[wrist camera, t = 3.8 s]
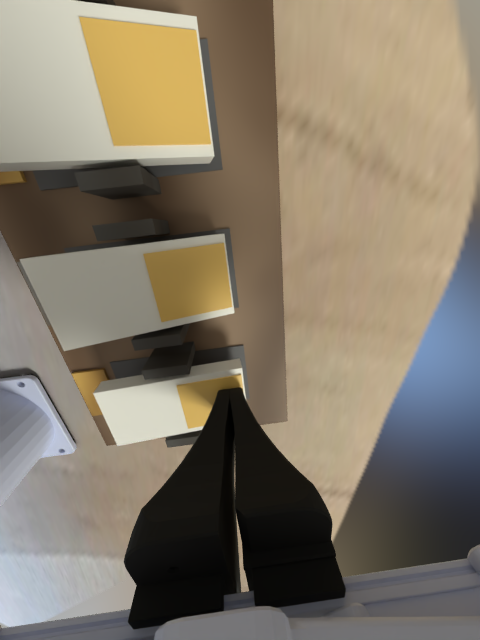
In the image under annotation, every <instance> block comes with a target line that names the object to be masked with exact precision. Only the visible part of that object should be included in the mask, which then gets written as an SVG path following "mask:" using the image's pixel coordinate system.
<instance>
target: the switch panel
mask: <svg viewBox="0 0 480 640" xmlns="http://www.w3.org/2000/svg"><path fill="white" fill-rule="evenodd" d="M76 1H83V2H91V3H98V4H106V5H114V6H121V7H129V8H136V9H144V10H151V11H159V12H166V13H174V14H182V15H189V16H197V24H198V32H199V40H200V47H201V55H202V63H203V71H204V79H205V86H206V94H207V102H208V110H209V118H210V126H211V133H212V141H213V149H214V158H213V159H212V161H211V162H210V163H208V164H182V165H157V166H140V165H136V166H128V167H107V168H82V169H57V170H32V171H7V172H0V231H1V233H2V235H3V237H4V239H5V241H6V243H7V245H8V247H9V249H10V251H11V253H12V255H13V257H14V259H15V261H16V263H17V265H18V267H19V269H20V271H21V273H22V275H23V277H24V279H25V281H26V283H27V285H28V287H29V289H30V291H31V293H32V295H33V298H34V300H35V302H36V304H37V306H38V308H39V310H40V312H41V314H42V316H43V318H44V320H45V322H46V324H47V326H48V328H49V330H50V332H51V334H52V336H53V338H54V340H55V342H56V344H57V346H58V348H59V350H60V352H61V354H62V356H63V358H64V360H65V362H66V364H67V366H68V368H69V370H70V372H71V374H72V376H73V378H74V381H75V383H76V385H77V387H78V389H79V391H80V393H81V395H82V397H83V399H84V401H85V403H86V405H87V407H88V409H89V411H90V413H91V415H92V417H93V419H94V421H95V423H96V425H97V427H98V429H99V431H100V433H101V435H102V437H103V439H104V441H105V443H106V445H107V446H108V445H115V444H116V442H115V439H114V437H113V435H112V433H111V431H110V429H109V427H108V424H107V422H106V420H105V418H104V416H103V414H102V412H101V409H100V407H99V405H98V403H97V401H96V399H95V397H94V394H93V393H94V391H95V390H96V389H97V387H98V386H99V384H100V383H101V382H102V381H108V380H114V379H120V378H126V377H131V376H137V375H143V377H144V380H148V379H156V378H164V377H171V376H179V375H187V374H190V370H191V366H197V365H203V364H209V363H215V362H221V361H227V360H233V359H239V358H240V361H241V366H242V371H243V379H244V387H245V395H246V401H247V403H248V405H249V407H250V409H251V411H252V413H253V415H254V417H255V418H256V420H257V422H258V423H259V425H264V424H271V423H279V422H286V421H288V419H287V390H286V362H285V333H284V305H283V276H282V247H281V219H280V190H279V162H278V133H277V104H276V76H275V47H274V19H273V0H76ZM214 234H224V235H225V243H226V250H227V258H228V266H229V274H230V282H231V289H232V297H233V305H234V313H233V314H228V315H224V316H219V317H215V318H210V319H206V320H201V321H197V322H193V323H188V324H184V325H179V326H175V327H170V328H166V329H161V330H157V331H152V332H148V333H143V334H139V335H134V336H130V337H125V338H121V339H117V340H112V341H108V342H103V343H99V344H94V345H90V346H85V347H81V348H76V349H72V350H67V351H64V350H63V348H62V346H61V344H60V342H59V340H58V338H57V336H56V334H55V332H54V330H53V328H52V326H51V324H50V321H49V319H48V317H47V315H46V313H45V311H44V309H43V307H42V305H41V303H40V301H39V299H38V297H37V295H36V293H35V291H34V289H33V286H32V284H31V282H30V280H29V278H28V276H27V274H26V272H25V270H24V268H23V266H22V264H21V262H20V260H19V259H24V258H30V257H38V256H46V255H54V254H62V253H70V252H78V251H86V250H94V249H102V248H110V247H118V246H126V245H134V244H142V243H150V242H158V241H166V240H174V239H182V238H190V237H198V236H206V235H214ZM200 432H201V430H199V431H193V432H188V433H183V434H178V435H173V436H167V437H162V438H166V440H165V441H166V444H167V447H176V446H183V445H190V444H194V443H195V441H196V440H197V438H198V436H199V434H200ZM157 439H160V438H157ZM152 440H153V439H152Z"/></svg>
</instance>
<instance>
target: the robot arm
mask: <svg viewBox="0 0 480 640" xmlns="http://www.w3.org/2000/svg"><path fill="white" fill-rule="evenodd" d="M76 448H77V447H76V444H75V443H74V441H73V439H72V437H71V436H70V434H69V432H68V430H67V429H66V427H65V425H64V423H63V422H62V420H61V418H60V416H59V415H58V413H57V411H56V409H55V408H54V406H53V404H52V402H51V401H50V399H49V397H48V395H47V394H46V392H45V390H44V388H43V387H42V385H41V383H40V381H39V380H38V378H37V377H35V376H33V375H25V376H17V377H10V378H2V379H0V507H1V506H2V504H3V503H4V502H5V501H6V499H7V498H8V497H9V496H10V494H11V493H12V492H13V491H14V489H15V488H16V487H17V486H18V484H19V483H20V482H21V481H22V480H23V478H24V477H25V476H26V475H27V473H28V472H29V471H30V470H31V468H32V467H33V466H34V465H35V463H36V462H37V461H38V460H39V458H42V457H50V456H57V455H65V454H71V453H73V452H74V451H75V450H76ZM234 465H235V475H236V482H235V487H234ZM236 514H237V519H238V524H239V529H240V534H241V539H242V549H243V566H244V570H245V573H246V578H247V582H248V587H249V591H248V592H241V582H240V568H239V553H238V538H237V522H236ZM331 533H332V519H331V516H330V514H329V511H328V509H327V507H326V505H325V503H324V501H323V499H322V498H321V496H320V494H319V493H318V491H317V489H316V488H315V486H314V485H313V484H312V483H311V482H310V481H309V480H308V479H307V478H306V477H304V476H303V475H302V474H301V473H300V472H299V471H298V470H297V469H296V468H295V467H294V466H293V465H292V464H291V463H290V462H289V461H288V460H287V459H286V458H285V457H284V455H283V454H282V453H281V452H280V451H279V450H278V449H277V448H276V446H275V445H274V444H273V443H272V441H271V440H270V439H269V438H268V436H267V435H266V434H265V432H264V431H263V429H262V428H261V426H260V425H259V423H258V422H257V420H256V418H255V417H254V415H253V413H252V411H251V409H250V407H249V405H248V403H247V401H246V399H245V396H244V393H243V389H242V388H241V387H238V388H231V389H223V390H219V391H218V392H217V396H216V399H215V402H214V404H213V407H212V410H211V412H210V414H209V416H208V419H207V421H206V423H205V425H204V427H203V429H202V430H201V432H200V434H199V436H198V438H197V440H196V441H195V443H194V445H193V446H192V448H191V449H190V451H189V452H188V454H187V455H186V457H185V458H184V460H183V461H182V462H181V464H180V465H179V467H178V468H177V469H176V470H175V472H174V473H173V474H172V475H171V477H170V478H169V479H168V480H167V482H166V483H165V484H164V485H163V486H162V488H161V489H160V490H159V491H158V492H157V493H156V494H155V495H154V496H153V497H152V499H151V500H150V501H149V502H148V503H147V504H146V505H145V506H144V507H143V508H142V509H141V512H140V514H139V516H138V519H137V521H136V524H135V526H134V529H133V531H132V534H131V538H130V541H129V544H128V548H127V551H126V554H125V558H124V564H125V567H126V569H127V571H128V572H129V574H130V576H131V577H132V579H133V580H134V582H135V583H136V585H137V587H136V590H135V594H134V598H133V602H132V606H131V609H128V610H121V611H115V612H109V613H101V614H95V615H88V616H82V617H76V618H68V619H61V620H55V621H48V622H41V623H35V624H28V625H21V626H15V627H8V628H1V626H0V640H480V545H478V546H476V547H474V548H472V549H471V550H470V552H469V554H468V559H462V560H455V561H448V562H441V563H435V564H428V565H422V566H415V567H408V568H401V569H395V570H388V571H381V572H375V573H368V574H362V575H355V576H348V577H342V576H341V573H340V570H339V567H338V564H337V561H336V558H335V557H336V553H335V550H334V547H333V544H332V541H331Z"/></svg>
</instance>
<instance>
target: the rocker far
mask: <svg viewBox="0 0 480 640" xmlns="http://www.w3.org/2000/svg"><path fill="white" fill-rule="evenodd" d="M238 387H241V388H242V389H243V393H244V396H245V399H246V395H245V387H244V379H243V371H242V366H241V361H240V358H239V359H233V360H227V361H221V362H215V363H209V364H203V365H197V366H191V370H190V374H187V375H179V376H171V377H164V378H156V379H148V380H144V377H143V375H137V376H131V377H126V378H120V379H114V380H108V381H102V382H101V383H100V384H99V386H98V387H97V389H96V390H95V391H94V393H93V394H94V397H95V399H96V401H97V403H98V405H99V407H100V409H101V412H102V414H103V416H104V418H105V420H106V422H107V424H108V427H109V429H110V431H111V433H112V435H113V437H114V439H115V442H116V444H117V446H120V445H125V444H131V443H136V442H141V441H146V440H152V439H157V438H162V437H167V436H173V435H178V434H183V433H188V432H193V431H199V430H202V429H203V427H204V425H205V423H206V421H207V419H208V416H209V414H210V412H211V410H212V407H213V404H214V402H215V399H216V396H217V392H218V391H219V390H223V389H231V388H238Z"/></svg>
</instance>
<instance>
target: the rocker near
mask: <svg viewBox="0 0 480 640" xmlns="http://www.w3.org/2000/svg"><path fill="white" fill-rule="evenodd" d="M213 158H214V149H213V141H212V133H211V126H210V118H209V110H208V102H207V94H206V86H205V79H204V71H203V63H202V55H201V47H200V40H199V32H198V24H197V16H189V15H182V14H174V13H166V12H159V11H151V10H144V9H136V8H129V7H121V6H114V5H106V4H98V3H91V2H83V1H76V0H0V172H7V171H32V170H57V169H82V168H107V167H128V166H136V165H140V166H157V165H182V164H208V163H210V162H211V161H212V159H213Z"/></svg>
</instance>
